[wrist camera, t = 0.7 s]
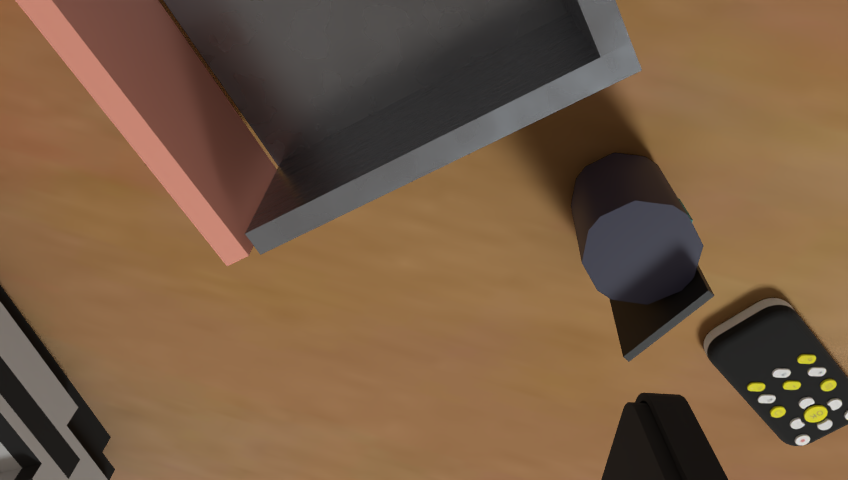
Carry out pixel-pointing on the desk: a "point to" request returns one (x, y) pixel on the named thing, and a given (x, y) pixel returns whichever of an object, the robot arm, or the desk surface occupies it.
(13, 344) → the game console
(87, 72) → the tailgate
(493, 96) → the box
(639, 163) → the speaker
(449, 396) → the desk surface
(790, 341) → the remote control
